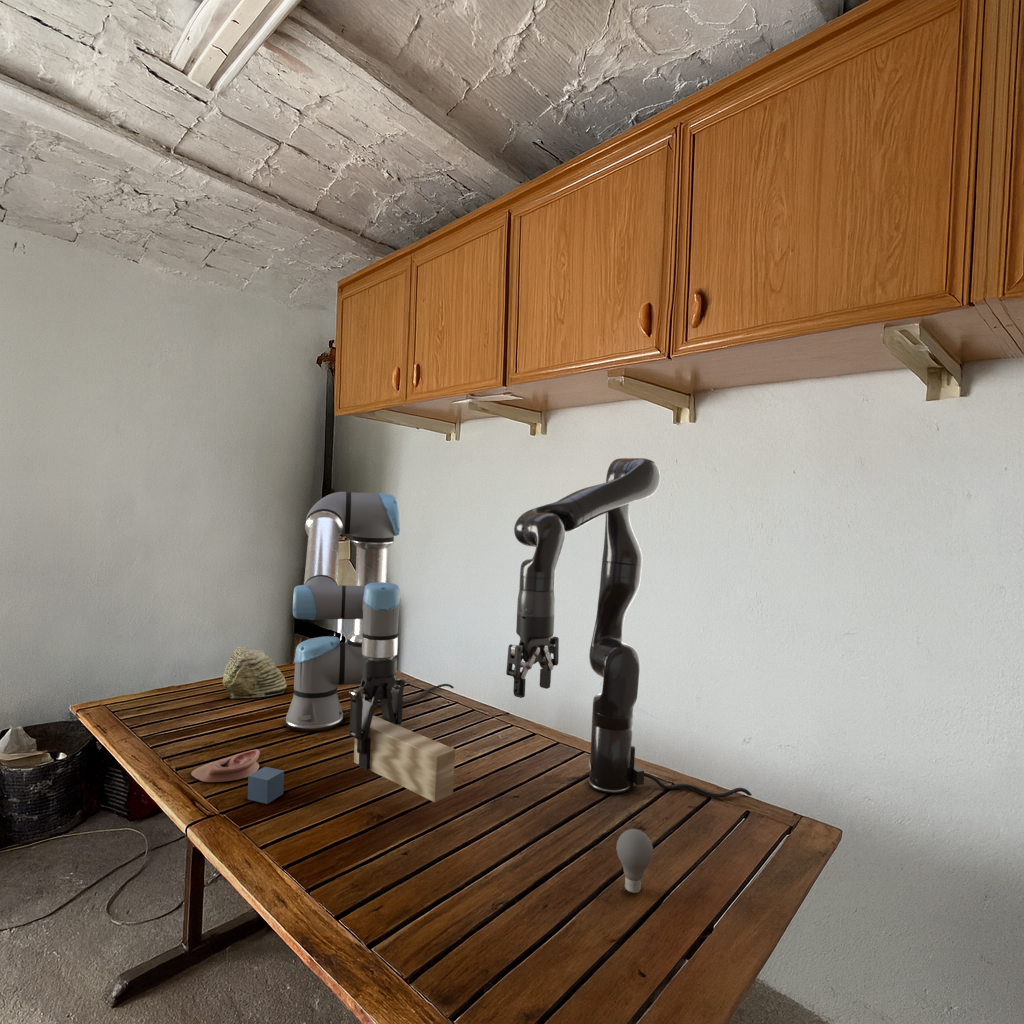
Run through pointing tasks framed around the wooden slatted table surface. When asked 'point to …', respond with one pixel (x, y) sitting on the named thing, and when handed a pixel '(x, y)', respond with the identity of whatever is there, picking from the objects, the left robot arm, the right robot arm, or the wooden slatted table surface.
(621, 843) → the light bulb
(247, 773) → the anatomical model
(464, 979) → the wooden slatted table surface
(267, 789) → the slate blue block
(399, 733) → the ash bar
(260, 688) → the fossil
